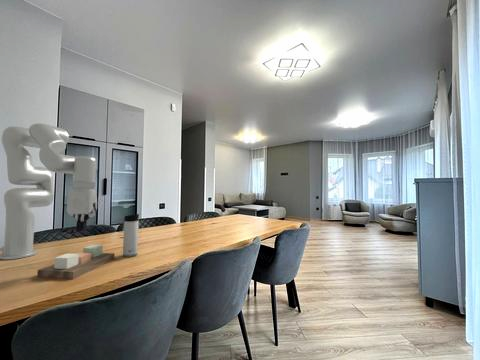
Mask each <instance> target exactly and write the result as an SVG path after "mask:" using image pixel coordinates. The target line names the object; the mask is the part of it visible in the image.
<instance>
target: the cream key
mask: <svg viewBox="0 0 480 360" xmlns="http://www.w3.org/2000/svg"><path fill="white" fill-rule="evenodd" d="M78 257H79V254H78V253H64V254H61V255H58V256H56V257H54V263H53V264H54V269H68V268H71V267H73V266H76V265H78Z"/></svg>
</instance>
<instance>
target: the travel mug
mask: <svg viewBox="0 0 480 360" xmlns="http://www.w3.org/2000/svg"><path fill="white" fill-rule="evenodd" d="M139 215H140V214H139V213H136V214H127V215H124V223H123V240H122V241H123V243H122V244H123V245H122V249H123V250H122V257H125V258H132V257H136V256H137V255H138V249H139V248H138V246H139V245H138V243H139Z"/></svg>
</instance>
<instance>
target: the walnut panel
mask: <svg viewBox="0 0 480 360" xmlns="http://www.w3.org/2000/svg"><path fill="white" fill-rule="evenodd" d="M113 260H115V252H114V253H113V252H110V253H109V252H102V255H99V256H97V257H95V258H91V260H89V261H86V262H84V263H82V264H80V263H78V265H76V266H73V267H71V268H68V269H54V264H55V263H52V264H49V265H47V266H45V267H41V268H39V269H37V273H36V277H37V278H50V279H65V280H66V279H67V280H74V279H77V278H78V277H80V276H83V275H84V274H86V273H88V272H91V271H93V270H95V269H96V268H99V267H100V266H103V265H105V264H107V263H109V262H111V261H113Z"/></svg>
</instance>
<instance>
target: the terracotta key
mask: <svg viewBox="0 0 480 360" xmlns="http://www.w3.org/2000/svg"><path fill="white" fill-rule="evenodd" d="M77 254H79V257H78V263H80V264H82V263H84V262H86V261H89V260H91V253H83V252H79V253H77Z"/></svg>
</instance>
